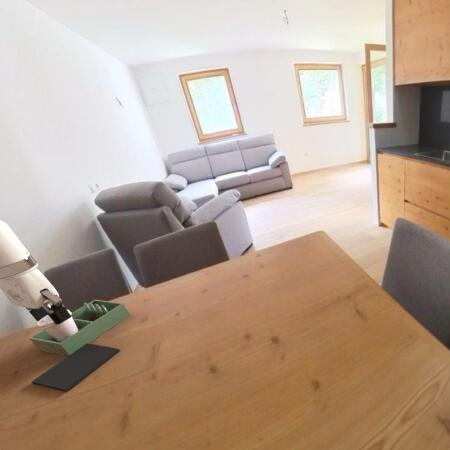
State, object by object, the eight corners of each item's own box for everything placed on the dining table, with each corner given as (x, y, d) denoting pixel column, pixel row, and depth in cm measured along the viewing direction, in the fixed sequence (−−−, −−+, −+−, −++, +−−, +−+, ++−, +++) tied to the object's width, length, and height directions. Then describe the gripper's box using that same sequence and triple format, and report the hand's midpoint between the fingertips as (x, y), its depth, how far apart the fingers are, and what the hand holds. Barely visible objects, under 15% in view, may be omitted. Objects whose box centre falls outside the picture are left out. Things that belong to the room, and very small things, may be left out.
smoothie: (92, 336, 84) (65, 301, 77) (62, 353, 78) (31, 316, 72) (82, 330, 86) (55, 295, 80) (53, 346, 81) (21, 310, 75)
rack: (39, 350, 80) (23, 333, 77) (102, 310, 94) (91, 294, 91) (70, 356, 77) (55, 338, 74) (130, 314, 91) (119, 298, 88)
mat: (32, 383, 70) (30, 381, 70) (88, 345, 81) (87, 343, 80) (67, 391, 68) (65, 389, 68) (120, 350, 78) (118, 348, 78)
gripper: (-34, 273, 69) (15, 325, 77) (15, 279, 65) (60, 333, 73) (9, 256, 75) (50, 306, 83) (55, 261, 72) (93, 313, 80)
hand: (54, 318), depth 78 cm, fingers closed on smoothie, 6 cm apart
